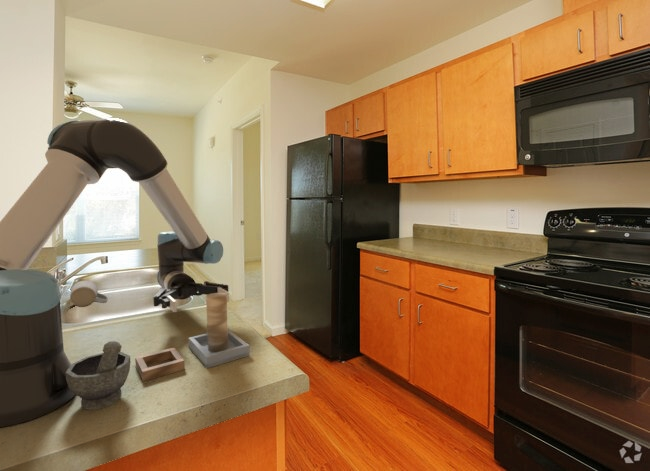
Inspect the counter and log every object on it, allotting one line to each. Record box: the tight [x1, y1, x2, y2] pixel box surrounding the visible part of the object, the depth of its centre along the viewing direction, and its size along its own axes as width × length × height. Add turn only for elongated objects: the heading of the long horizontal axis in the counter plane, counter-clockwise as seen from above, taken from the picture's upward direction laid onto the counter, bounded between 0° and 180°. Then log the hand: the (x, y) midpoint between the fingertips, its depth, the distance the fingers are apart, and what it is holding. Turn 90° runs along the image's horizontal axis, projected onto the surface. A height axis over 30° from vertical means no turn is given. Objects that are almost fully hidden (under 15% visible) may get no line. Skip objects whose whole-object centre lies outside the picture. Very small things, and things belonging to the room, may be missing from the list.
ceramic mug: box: [69, 280, 109, 308], centre depth 119 cm, size 11×8×8 cm
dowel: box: [205, 293, 229, 352], centre depth 83 cm, size 5×5×13 cm
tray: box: [188, 328, 250, 369], centre depth 83 cm, size 10×13×2 cm
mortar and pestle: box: [66, 340, 131, 410], centre depth 63 cm, size 11×9×12 cm
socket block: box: [134, 347, 186, 382], centre depth 75 cm, size 8×8×2 cm
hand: (202, 301), depth 91 cm, fingers open, 13 cm apart
